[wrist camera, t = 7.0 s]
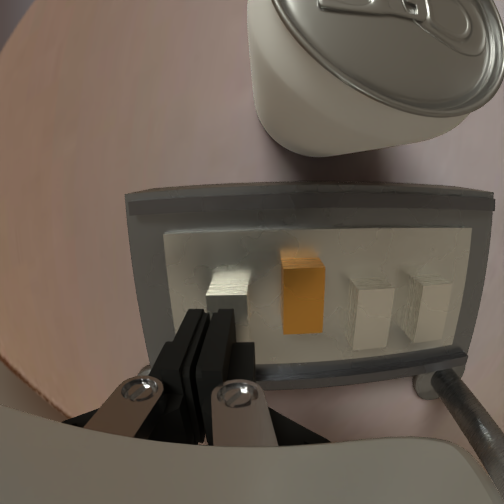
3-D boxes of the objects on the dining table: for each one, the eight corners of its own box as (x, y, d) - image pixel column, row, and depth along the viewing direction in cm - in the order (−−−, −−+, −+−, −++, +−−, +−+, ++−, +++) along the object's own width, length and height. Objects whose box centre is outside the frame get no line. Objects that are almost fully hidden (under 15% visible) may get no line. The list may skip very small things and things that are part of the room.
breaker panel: (454, 186, 16) (515, 196, 11) (436, 333, 19) (478, 378, 13) (153, 188, 17) (106, 198, 11) (171, 347, 19) (145, 405, 14)
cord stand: (466, 342, 19) (597, 495, 3) (452, 388, 20) (550, 540, 4) (131, 361, 20) (14, 572, 3) (144, 407, 21) (65, 601, 5)
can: (369, 163, 16) (529, 166, 5) (252, 155, 16) (234, 119, 5) (368, 56, 15) (487, -51, 3) (255, 45, 15) (248, -113, 3)
